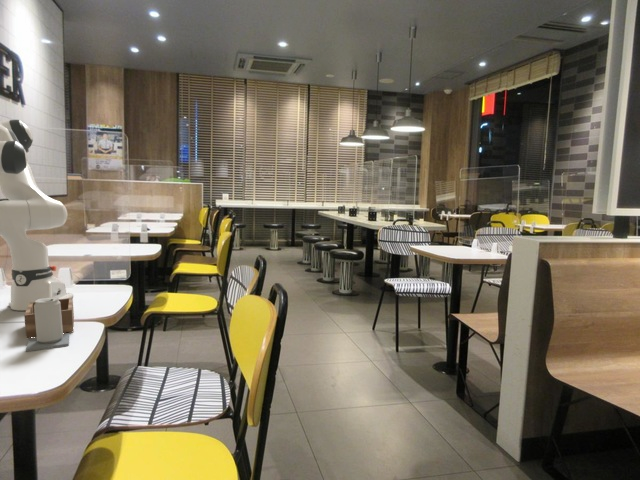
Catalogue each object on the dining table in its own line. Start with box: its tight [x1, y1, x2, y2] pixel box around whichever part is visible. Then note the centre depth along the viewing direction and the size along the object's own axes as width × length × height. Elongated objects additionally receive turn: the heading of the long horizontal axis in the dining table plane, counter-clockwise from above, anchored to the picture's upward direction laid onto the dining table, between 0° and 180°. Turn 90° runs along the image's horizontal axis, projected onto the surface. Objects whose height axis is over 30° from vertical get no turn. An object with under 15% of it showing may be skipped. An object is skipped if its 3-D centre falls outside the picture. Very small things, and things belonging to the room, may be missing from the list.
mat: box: [25, 333, 70, 353], centre depth 125 cm, size 10×10×1 cm
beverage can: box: [34, 297, 63, 343], centre depth 124 cm, size 6×6×12 cm
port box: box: [23, 297, 75, 339], centre depth 138 cm, size 16×12×7 cm
